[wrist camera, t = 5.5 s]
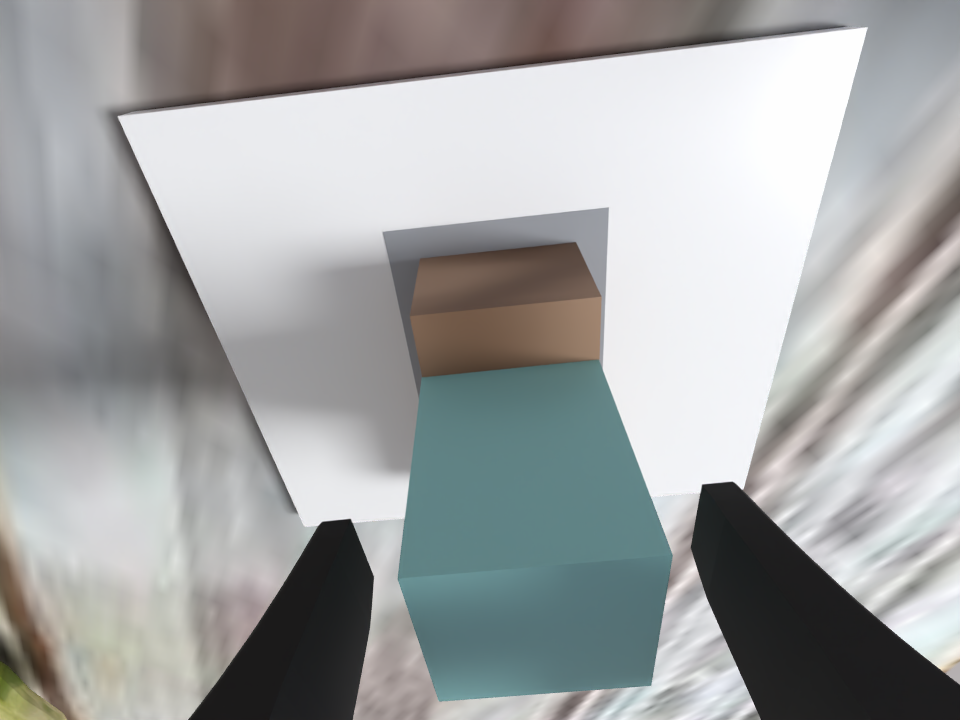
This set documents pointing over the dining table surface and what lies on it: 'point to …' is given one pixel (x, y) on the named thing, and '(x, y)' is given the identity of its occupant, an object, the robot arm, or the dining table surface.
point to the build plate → (507, 240)
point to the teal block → (530, 536)
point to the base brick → (505, 310)
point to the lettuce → (22, 700)
